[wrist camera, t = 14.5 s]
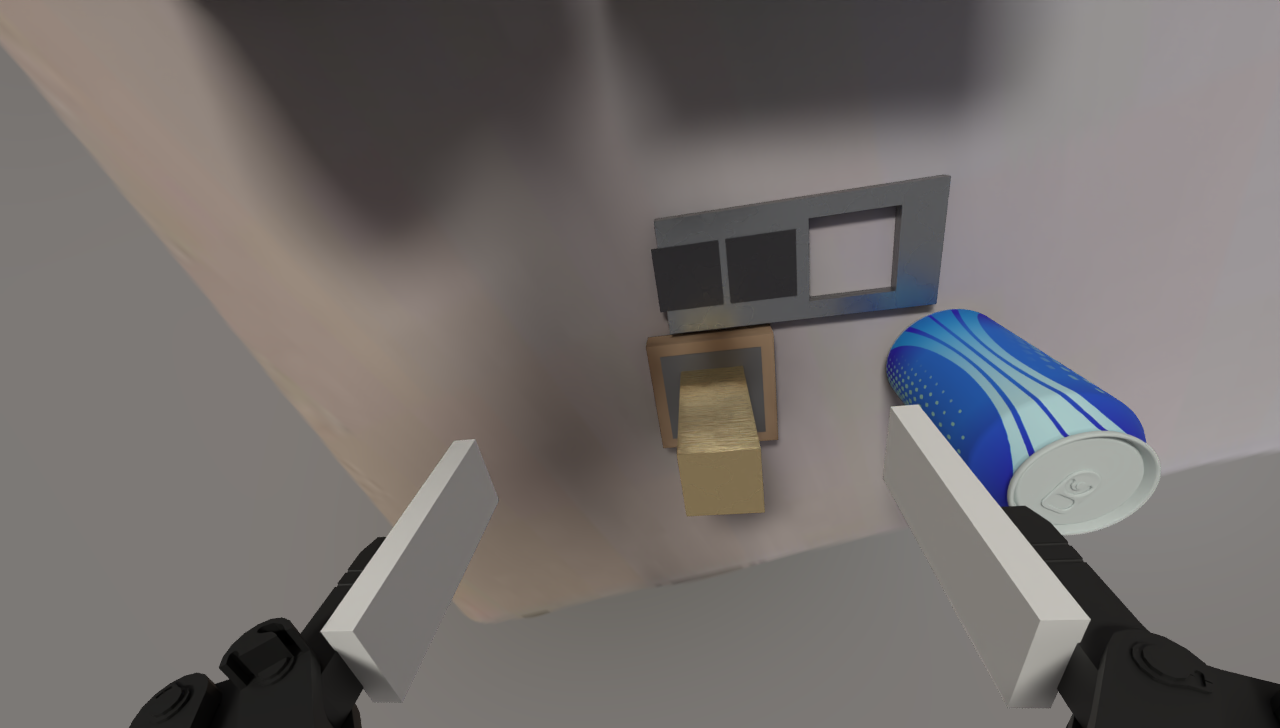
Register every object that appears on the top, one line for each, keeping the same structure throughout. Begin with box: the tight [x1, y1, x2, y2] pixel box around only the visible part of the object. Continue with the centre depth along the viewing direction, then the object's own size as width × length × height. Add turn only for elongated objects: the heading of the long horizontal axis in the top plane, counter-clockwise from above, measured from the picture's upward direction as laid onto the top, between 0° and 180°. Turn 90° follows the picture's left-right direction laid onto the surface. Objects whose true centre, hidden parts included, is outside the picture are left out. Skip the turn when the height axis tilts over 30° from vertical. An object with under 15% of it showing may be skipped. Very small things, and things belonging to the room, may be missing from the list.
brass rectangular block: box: [677, 366, 765, 516], centre depth 34 cm, size 5×5×11 cm
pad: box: [646, 324, 778, 448], centre depth 40 cm, size 10×10×2 cm
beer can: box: [886, 309, 1161, 535], centre depth 31 cm, size 8×8×16 cm
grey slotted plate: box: [651, 175, 951, 334], centre depth 35 cm, size 20×9×1 cm, turn 99°
